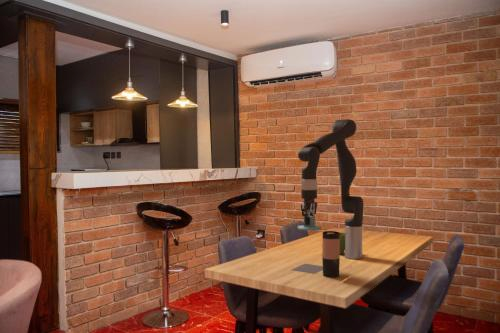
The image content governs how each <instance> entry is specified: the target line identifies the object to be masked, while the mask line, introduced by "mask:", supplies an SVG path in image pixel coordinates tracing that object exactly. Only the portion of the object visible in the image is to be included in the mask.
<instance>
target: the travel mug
mask: <svg viewBox="0 0 500 333" xmlns="http://www.w3.org/2000/svg"><path fill="white" fill-rule="evenodd" d="M339 232H340V231H336V230H334V231H333V230H325V231H322V241H321V242H322V250H321V251H322V252H321V253H322V254H321V256H322V257H321V258H322V266H323V270H322V276H323V277H325V278H329V279H331V278H332V279H334V278H336V279H337V278H339V277H340V261H341V259H340V257H341V256H340V255H341V254H340V240H339Z"/></svg>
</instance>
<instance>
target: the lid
mask: <svg viewBox="0 0 500 333" xmlns="http://www.w3.org/2000/svg"><path fill="white" fill-rule="evenodd" d="M297 229H298V230H299V231H307V232H309V231H310V232H314V231H315V232H316V231H320V230H322V226H320V225H318V224H317V225H316V216H315V215H314V216H310V225H305V217H304V216H303V225H302V224H301V225H298V226H297Z"/></svg>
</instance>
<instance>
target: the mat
mask: <svg viewBox="0 0 500 333" xmlns="http://www.w3.org/2000/svg"><path fill="white" fill-rule="evenodd" d="M291 271H294V272H299V273H300V272H301V273H307V274H312V275H313V274H314V275H315V274H317V273H319V272H321V271H323V265H319V264H310V263H309V264H308V263H303V264H300V265H299V266H296V267H294V268H292V269H291Z"/></svg>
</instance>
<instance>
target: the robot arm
mask: <svg viewBox="0 0 500 333" xmlns="http://www.w3.org/2000/svg"><path fill="white" fill-rule="evenodd" d="M356 131H357V123H356V121H354V119H348V118H347V119H346V118H345V119H336V120H334V122H333V124H332V132H329V133H326V134H325V135H322V136H320V137H319V138H318V139H316V140H315V141H313V142H311V143H309V144H306V145H304V146H302V147H301V148H300V149H299V150H298V153H297V157H298V160H300V161H301V162H304V163H305V162H306V163H307V165H306V166H304V167H302V169H301V181H300V182H301V184H300V186H301V187H300V188H301V189H300V191H301V195H300V196H301V197H300V198H301V199H302V200H303V203H302V204H300V210H301V216H302V217H303V218H304V217H305V225H310V216H315V215H316V214H317V210H318V202H316V201H315V200H317V199H318V182H317V170H318V167H319V162H320V159H321V155H322V154H323V153H325V152H327V151H328V150H329V149H330V148H332V147H333V146H335V150H336V155H337V165H338V166H337V167H338V173H339V174H338V175H339V182H340V199H341V201H340V202H341V209H342V211H343V213H345V214H346V213H348V214H353V217H352V218H348V219H345V220H344V233H345V251H344V258H346V259H350V260H359V259H363V220H364V199H363V197H361V196H355V195H350V189H351V185H352V183H353V181H354V180H355V178H356V175H357V163H356V159H355V156H354V155H353V153H352V152H351V151H350V149H349V148H348V146H347V144H346V139H349V138H351V137H353V136H354V135H355V133H356Z"/></svg>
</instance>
